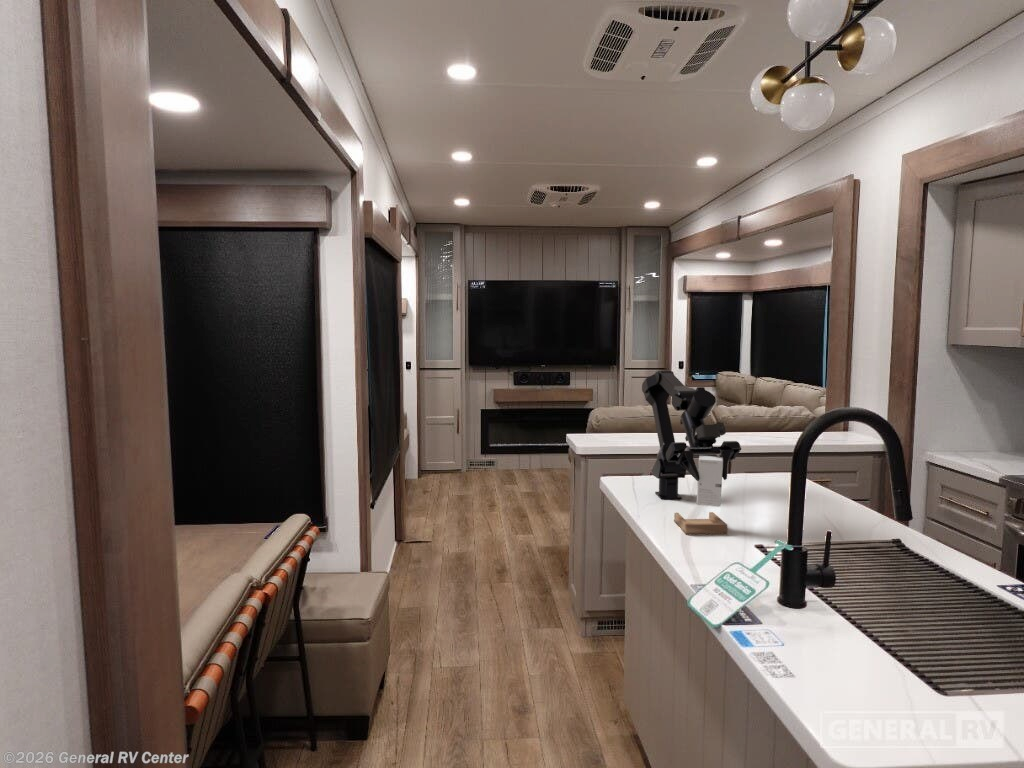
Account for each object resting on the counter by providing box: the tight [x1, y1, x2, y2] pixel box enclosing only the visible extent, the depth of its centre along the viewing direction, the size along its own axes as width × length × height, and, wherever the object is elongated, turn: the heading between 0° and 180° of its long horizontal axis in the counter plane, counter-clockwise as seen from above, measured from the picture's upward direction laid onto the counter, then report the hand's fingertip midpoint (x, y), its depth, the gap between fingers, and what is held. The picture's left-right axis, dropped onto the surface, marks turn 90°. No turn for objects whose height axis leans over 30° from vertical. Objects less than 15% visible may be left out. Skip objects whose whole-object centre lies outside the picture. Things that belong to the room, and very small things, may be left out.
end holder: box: [673, 511, 728, 536], centre depth 154 cm, size 10×10×2 cm
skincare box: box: [696, 455, 723, 507], centre depth 153 cm, size 6×4×12 cm
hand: (712, 479), depth 151 cm, fingers closed on skincare box, 7 cm apart
